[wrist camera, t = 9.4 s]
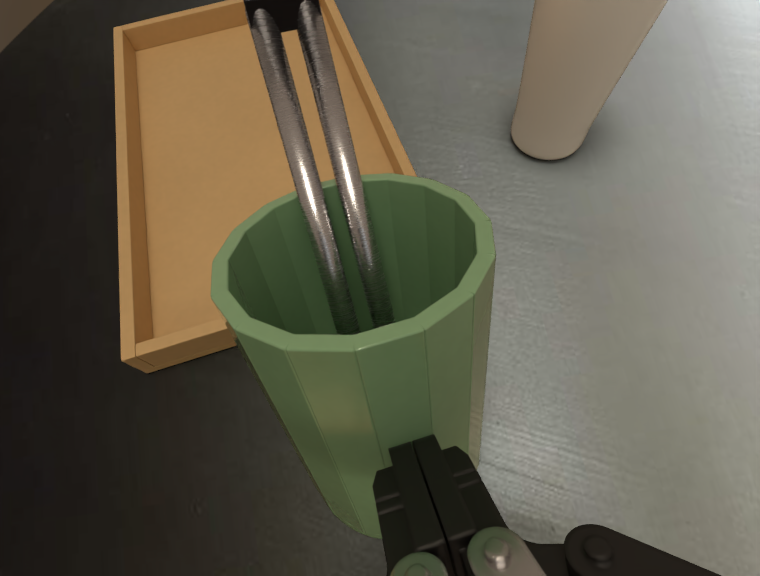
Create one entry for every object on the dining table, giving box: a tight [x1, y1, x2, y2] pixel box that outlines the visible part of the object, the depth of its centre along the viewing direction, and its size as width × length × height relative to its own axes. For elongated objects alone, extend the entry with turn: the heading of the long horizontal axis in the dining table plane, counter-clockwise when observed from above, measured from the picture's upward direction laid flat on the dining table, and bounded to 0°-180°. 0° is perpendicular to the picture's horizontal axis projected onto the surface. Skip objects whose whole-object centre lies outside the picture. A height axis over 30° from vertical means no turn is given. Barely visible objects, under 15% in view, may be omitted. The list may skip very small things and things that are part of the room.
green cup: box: [210, 173, 496, 539], centre depth 17 cm, size 8×8×13 cm
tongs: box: [243, 0, 396, 335], centre depth 16 cm, size 2×9×18 cm, turn 17°
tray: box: [114, 0, 417, 373], centre depth 32 cm, size 20×33×3 cm, turn 18°
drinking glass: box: [511, 0, 668, 160], centre depth 25 cm, size 7×7×15 cm
